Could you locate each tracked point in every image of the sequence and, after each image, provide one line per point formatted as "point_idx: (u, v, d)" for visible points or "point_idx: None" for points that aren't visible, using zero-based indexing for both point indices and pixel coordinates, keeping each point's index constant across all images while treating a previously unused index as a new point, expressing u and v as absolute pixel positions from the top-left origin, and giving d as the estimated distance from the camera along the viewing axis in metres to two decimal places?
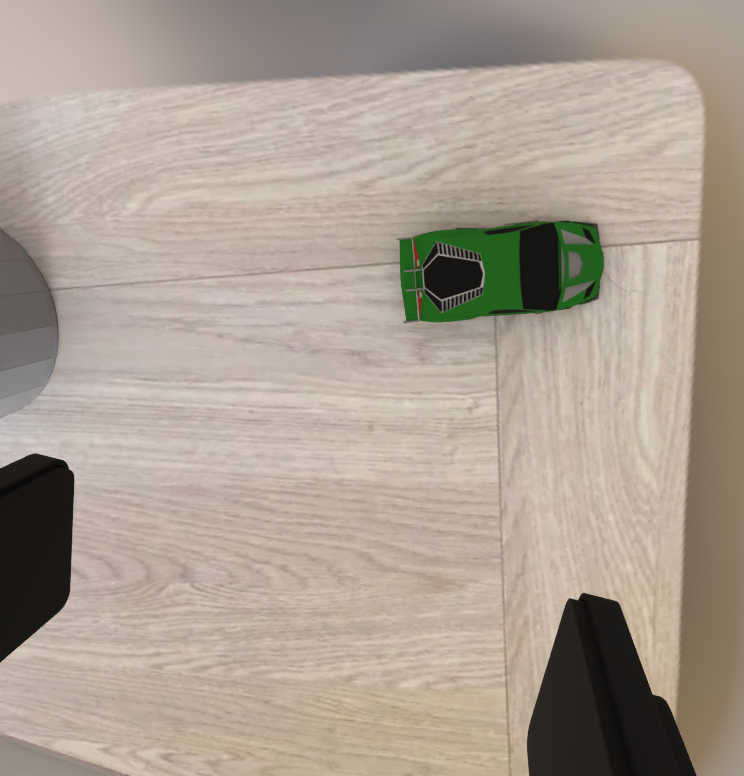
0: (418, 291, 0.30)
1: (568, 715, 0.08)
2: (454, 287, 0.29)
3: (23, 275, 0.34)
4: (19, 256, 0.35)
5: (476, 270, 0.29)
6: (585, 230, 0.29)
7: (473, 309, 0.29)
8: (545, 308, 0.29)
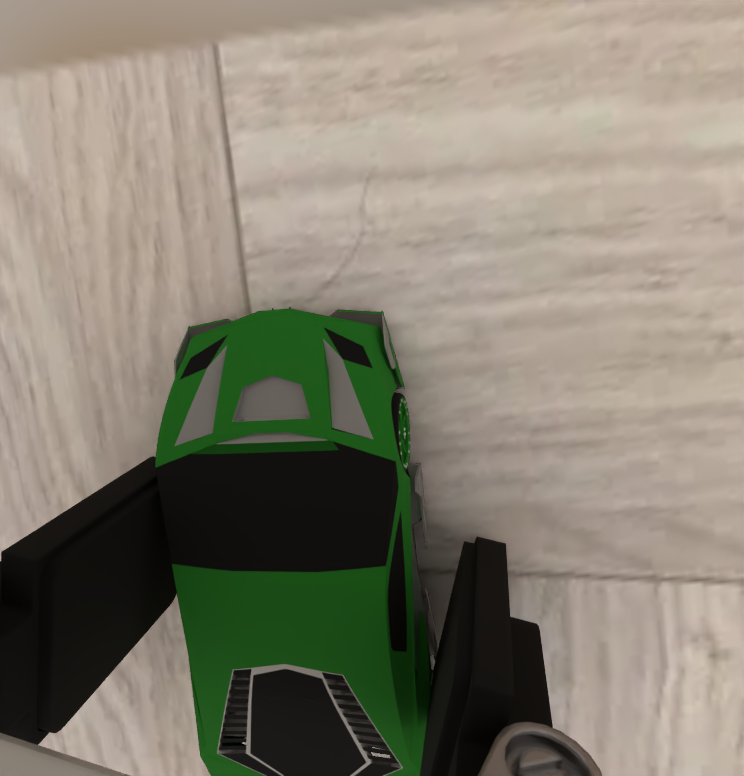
0: None
1: (449, 636, 0.09)
2: (329, 733, 0.10)
3: None
4: None
5: (277, 682, 0.10)
6: (189, 370, 0.10)
7: (388, 699, 0.10)
8: (387, 496, 0.09)
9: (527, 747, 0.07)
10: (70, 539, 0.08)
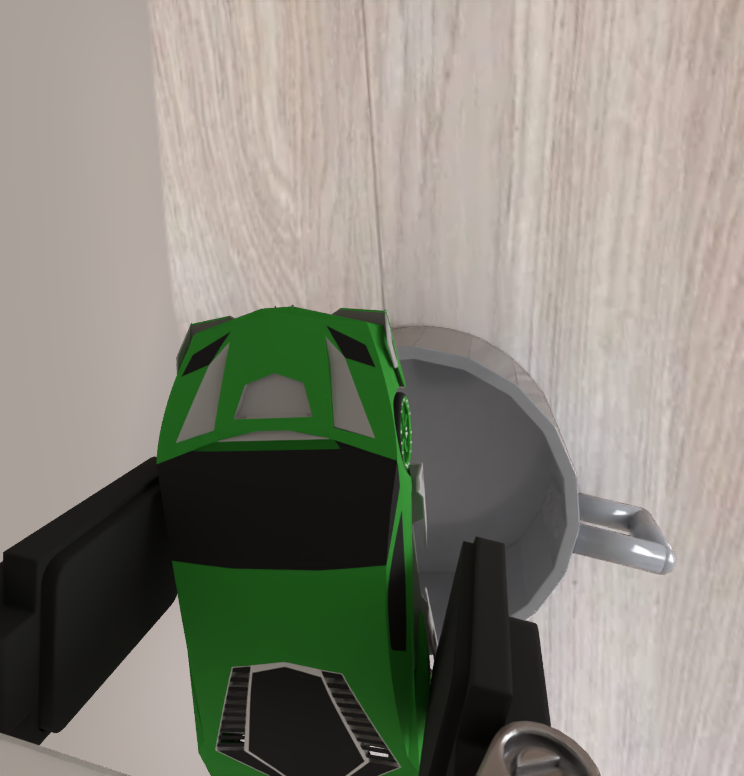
0: None
1: (448, 635, 0.09)
2: (327, 731, 0.10)
3: None
4: None
5: (276, 680, 0.10)
6: (192, 367, 0.10)
7: (387, 698, 0.10)
8: (389, 495, 0.09)
9: (525, 746, 0.07)
10: (72, 539, 0.08)
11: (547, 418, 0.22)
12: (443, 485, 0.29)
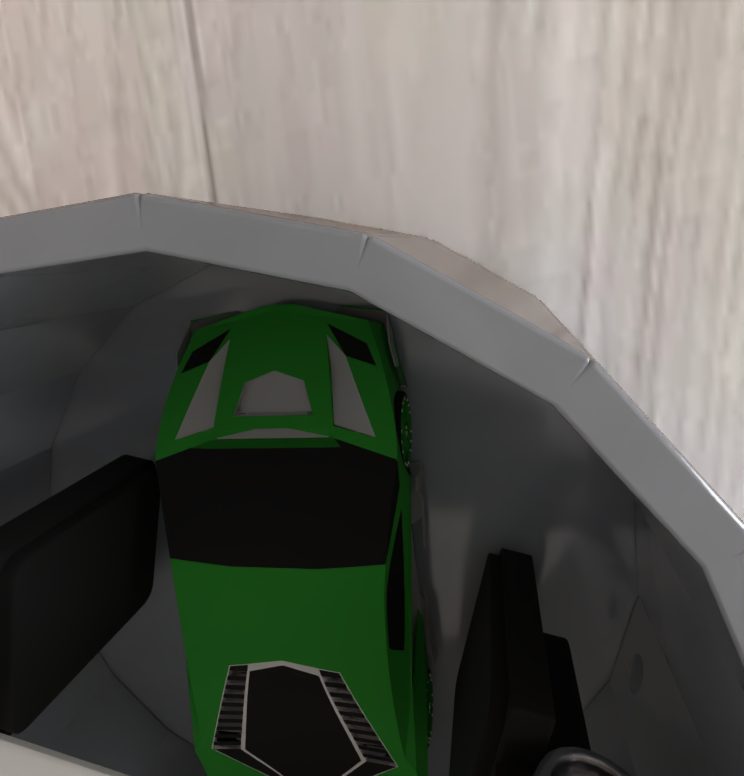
0: None
1: (477, 651, 0.09)
2: (324, 731, 0.10)
3: None
4: None
5: (273, 679, 0.10)
6: (191, 364, 0.10)
7: (384, 698, 0.10)
8: (388, 494, 0.09)
9: (569, 773, 0.07)
10: (31, 537, 0.08)
11: (725, 506, 0.05)
12: None
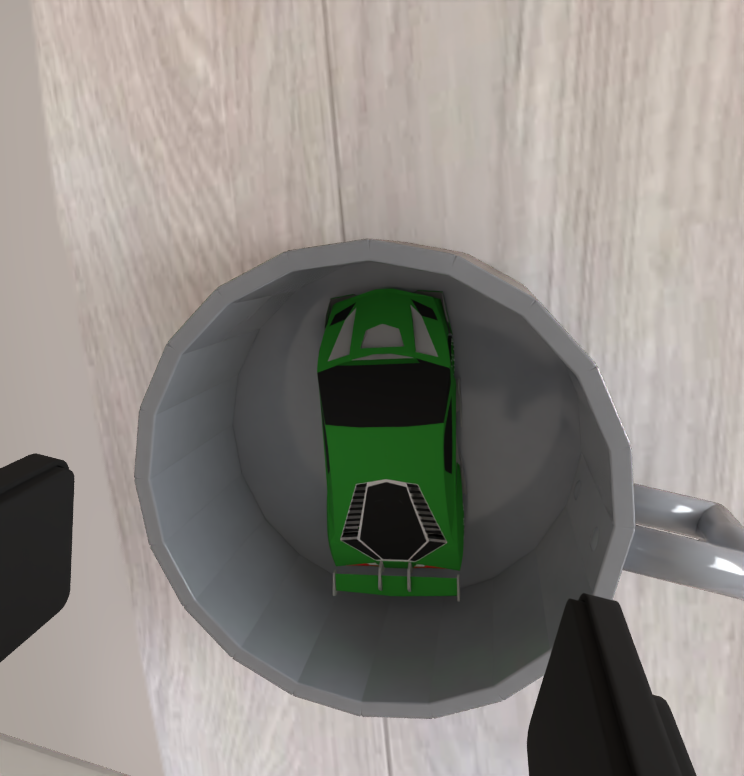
0: (415, 567, 0.20)
1: (568, 715, 0.08)
2: (407, 522, 0.19)
3: None
4: None
5: (380, 490, 0.19)
6: (335, 321, 0.19)
7: (441, 498, 0.18)
8: (445, 386, 0.18)
9: None
10: None
11: (584, 352, 0.13)
12: None
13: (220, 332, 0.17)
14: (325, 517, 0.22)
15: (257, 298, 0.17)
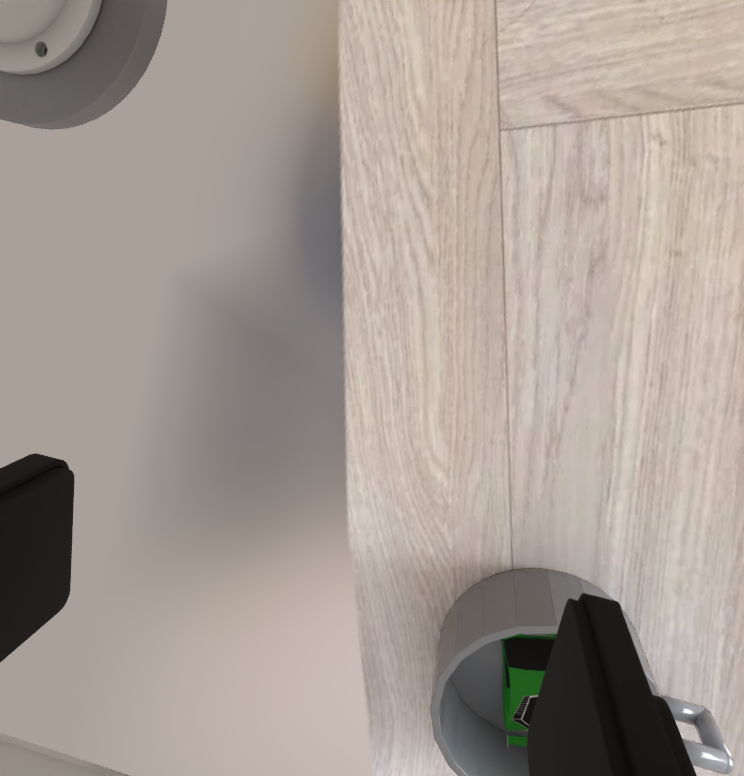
0: None
1: (568, 715, 0.08)
2: None
3: (497, 586, 0.37)
4: (480, 587, 0.38)
5: (536, 700, 0.37)
6: None
7: None
8: None
9: None
10: None
11: (648, 677, 0.32)
12: None
13: None
14: (494, 697, 0.40)
15: None
